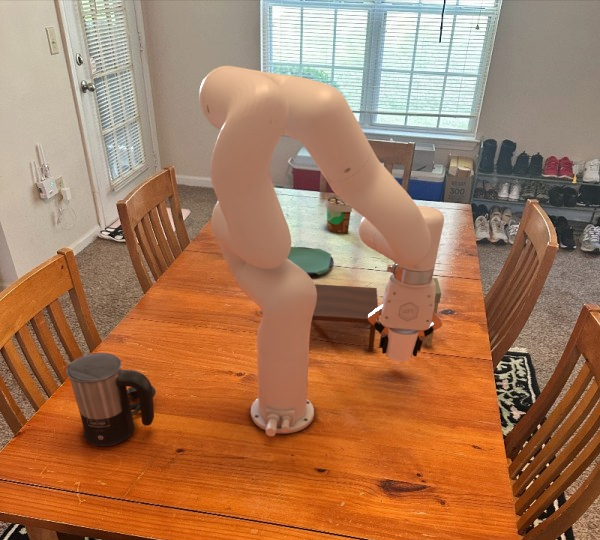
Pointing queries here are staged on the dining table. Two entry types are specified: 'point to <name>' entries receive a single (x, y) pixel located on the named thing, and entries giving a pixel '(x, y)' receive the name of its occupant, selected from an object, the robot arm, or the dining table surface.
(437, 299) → the chair
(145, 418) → the milk frother
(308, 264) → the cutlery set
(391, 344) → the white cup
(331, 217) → the food container
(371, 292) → the model table
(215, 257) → the dining table surface
